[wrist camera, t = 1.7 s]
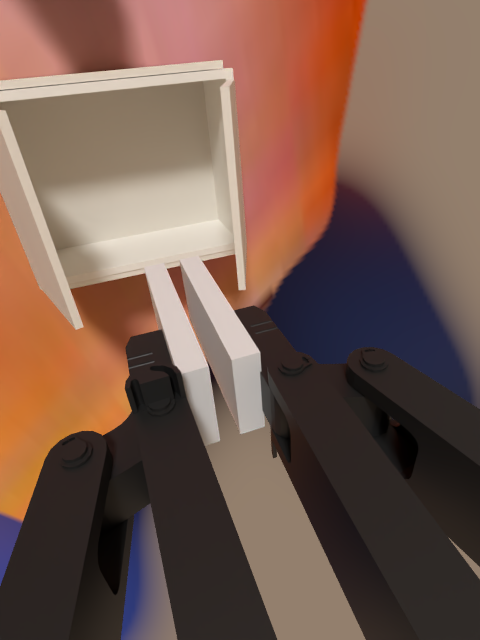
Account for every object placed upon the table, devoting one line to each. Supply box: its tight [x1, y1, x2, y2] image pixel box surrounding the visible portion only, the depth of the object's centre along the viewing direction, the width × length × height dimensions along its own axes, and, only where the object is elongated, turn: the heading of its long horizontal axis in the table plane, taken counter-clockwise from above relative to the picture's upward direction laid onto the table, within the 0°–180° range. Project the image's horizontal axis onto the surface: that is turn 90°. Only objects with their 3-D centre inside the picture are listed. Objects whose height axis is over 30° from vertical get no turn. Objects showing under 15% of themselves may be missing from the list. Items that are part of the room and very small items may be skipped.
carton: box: [0, 60, 235, 289], centre depth 34 cm, size 18×15×8 cm
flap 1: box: [0, 110, 83, 330], centre depth 25 cm, size 9×13×1 cm
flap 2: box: [220, 80, 247, 290], centre depth 28 cm, size 9×13×1 cm
